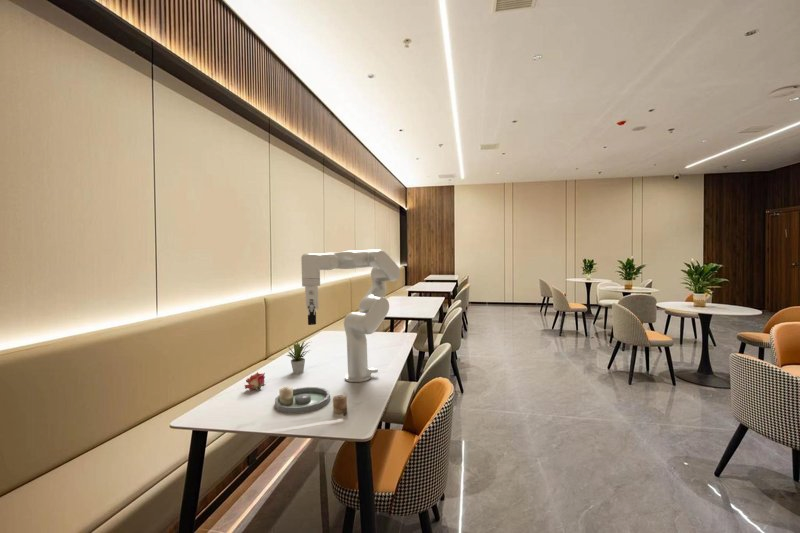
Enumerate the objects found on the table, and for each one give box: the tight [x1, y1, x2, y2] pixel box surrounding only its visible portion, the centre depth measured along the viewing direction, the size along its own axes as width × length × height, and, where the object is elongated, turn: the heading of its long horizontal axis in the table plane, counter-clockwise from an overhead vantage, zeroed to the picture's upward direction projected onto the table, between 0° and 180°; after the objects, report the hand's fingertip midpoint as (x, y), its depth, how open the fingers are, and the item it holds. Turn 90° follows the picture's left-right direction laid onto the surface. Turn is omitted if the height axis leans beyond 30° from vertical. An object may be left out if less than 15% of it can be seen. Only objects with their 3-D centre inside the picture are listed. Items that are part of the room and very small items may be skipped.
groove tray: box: [274, 386, 331, 414], centre depth 143 cm, size 21×21×3 cm
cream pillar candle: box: [278, 386, 294, 406], centre depth 141 cm, size 5×5×6 cm
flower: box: [244, 372, 267, 391], centre depth 159 cm, size 10×9×8 cm
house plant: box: [284, 340, 311, 374], centre depth 184 cm, size 14×14×16 cm
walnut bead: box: [332, 394, 348, 416], centre depth 133 cm, size 5×5×6 cm
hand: (312, 322), depth 152 cm, fingers open, 9 cm apart
